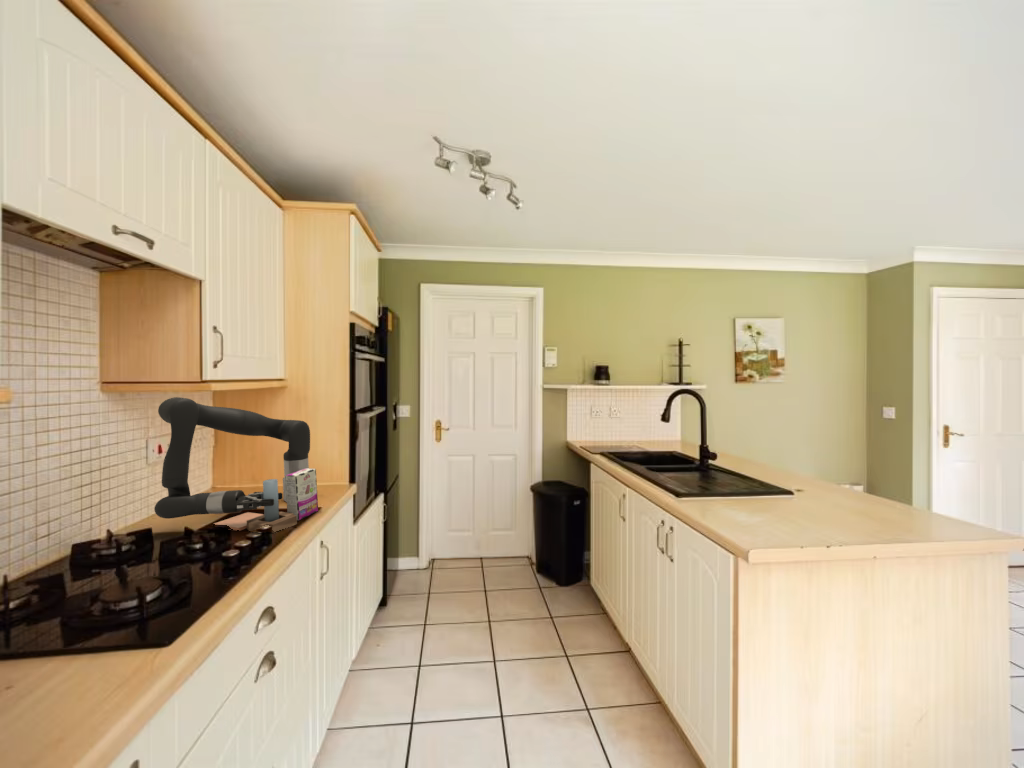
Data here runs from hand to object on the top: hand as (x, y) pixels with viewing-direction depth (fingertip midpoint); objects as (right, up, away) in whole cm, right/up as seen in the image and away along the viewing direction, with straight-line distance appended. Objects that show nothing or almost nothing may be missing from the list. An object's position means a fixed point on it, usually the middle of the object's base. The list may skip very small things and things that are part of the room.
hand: (277, 499), depth 152 cm
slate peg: (-2, -10, 0) cm, 10 cm away
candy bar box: (+3, -9, +11) cm, 15 cm away
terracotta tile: (-15, -10, +5) cm, 19 cm away
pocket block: (-2, -10, 0) cm, 10 cm away
